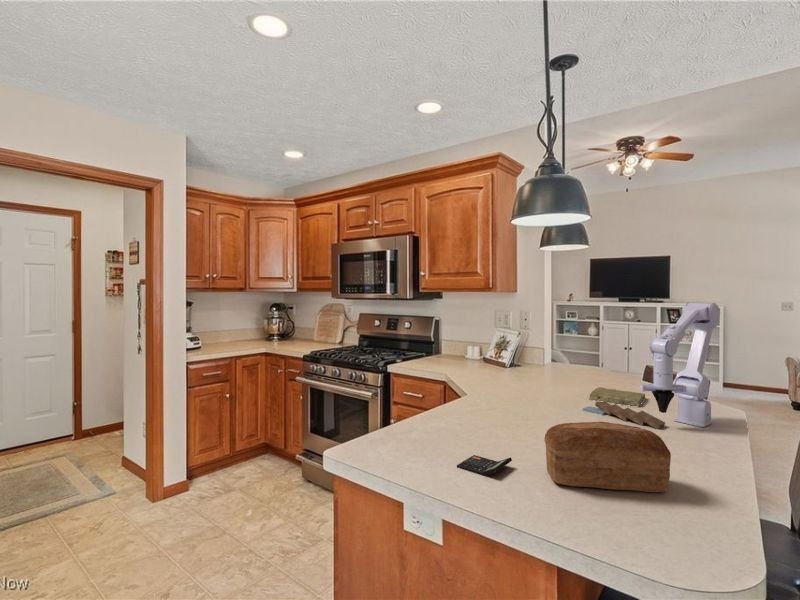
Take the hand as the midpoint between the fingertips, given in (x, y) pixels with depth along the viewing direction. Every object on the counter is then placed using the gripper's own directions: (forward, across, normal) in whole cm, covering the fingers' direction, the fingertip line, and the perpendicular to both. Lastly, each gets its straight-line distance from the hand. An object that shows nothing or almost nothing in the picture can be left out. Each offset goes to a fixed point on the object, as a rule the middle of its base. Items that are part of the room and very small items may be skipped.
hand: (662, 411), depth 144 cm
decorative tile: (+6, -2, -39) cm, 40 cm away
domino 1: (+6, +12, -16) cm, 21 cm away
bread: (+6, +38, +44) cm, 58 cm away
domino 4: (+5, +4, -4) cm, 7 cm away
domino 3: (+5, +7, -8) cm, 12 cm away
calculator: (+6, +66, +37) cm, 76 cm away
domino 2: (+5, +10, -14) cm, 18 cm away
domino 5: (+5, 0, 0) cm, 5 cm away
